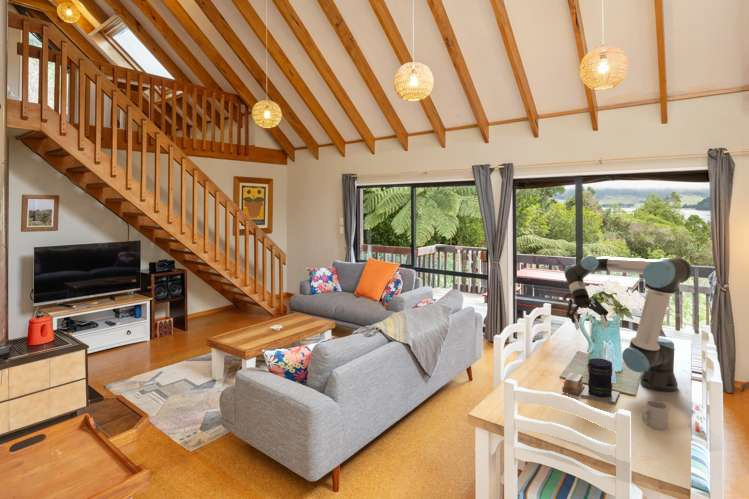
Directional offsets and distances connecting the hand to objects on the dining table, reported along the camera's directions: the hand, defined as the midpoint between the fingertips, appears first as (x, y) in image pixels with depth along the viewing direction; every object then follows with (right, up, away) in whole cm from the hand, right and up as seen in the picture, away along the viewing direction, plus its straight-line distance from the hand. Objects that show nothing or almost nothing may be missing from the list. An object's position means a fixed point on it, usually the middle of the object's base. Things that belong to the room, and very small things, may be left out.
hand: (592, 328), depth 210 cm
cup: (+5, -32, -39) cm, 51 cm away
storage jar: (-2, -28, -11) cm, 31 cm away
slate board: (-2, -29, -11) cm, 32 cm away
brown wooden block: (-11, -29, -4) cm, 31 cm away
